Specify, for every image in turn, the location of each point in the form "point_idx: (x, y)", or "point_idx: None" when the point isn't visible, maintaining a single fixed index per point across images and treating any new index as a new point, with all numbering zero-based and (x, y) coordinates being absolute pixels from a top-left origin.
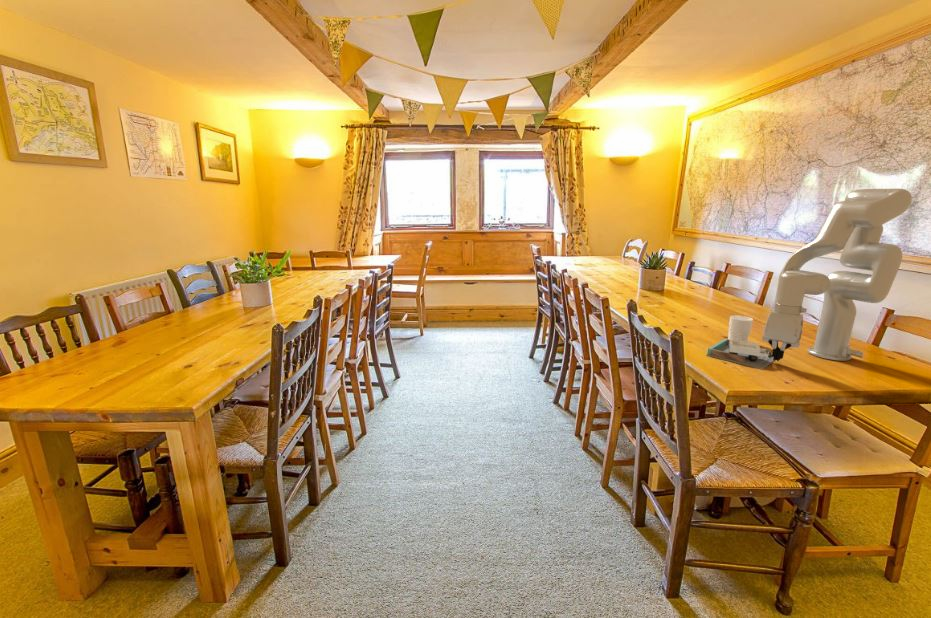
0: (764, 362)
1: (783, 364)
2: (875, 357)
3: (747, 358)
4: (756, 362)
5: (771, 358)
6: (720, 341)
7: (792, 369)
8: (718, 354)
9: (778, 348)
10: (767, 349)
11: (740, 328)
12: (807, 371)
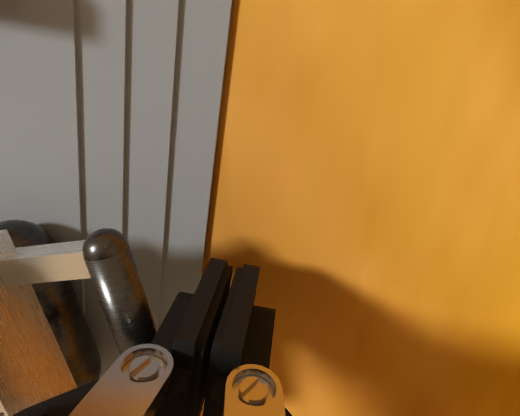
0: (158, 304)
1: (296, 236)
2: None
3: None
4: (113, 350)
5: (184, 129)
6: None
7: (363, 324)
8: None
9: (193, 365)
10: (91, 273)
11: None
12: (478, 308)
